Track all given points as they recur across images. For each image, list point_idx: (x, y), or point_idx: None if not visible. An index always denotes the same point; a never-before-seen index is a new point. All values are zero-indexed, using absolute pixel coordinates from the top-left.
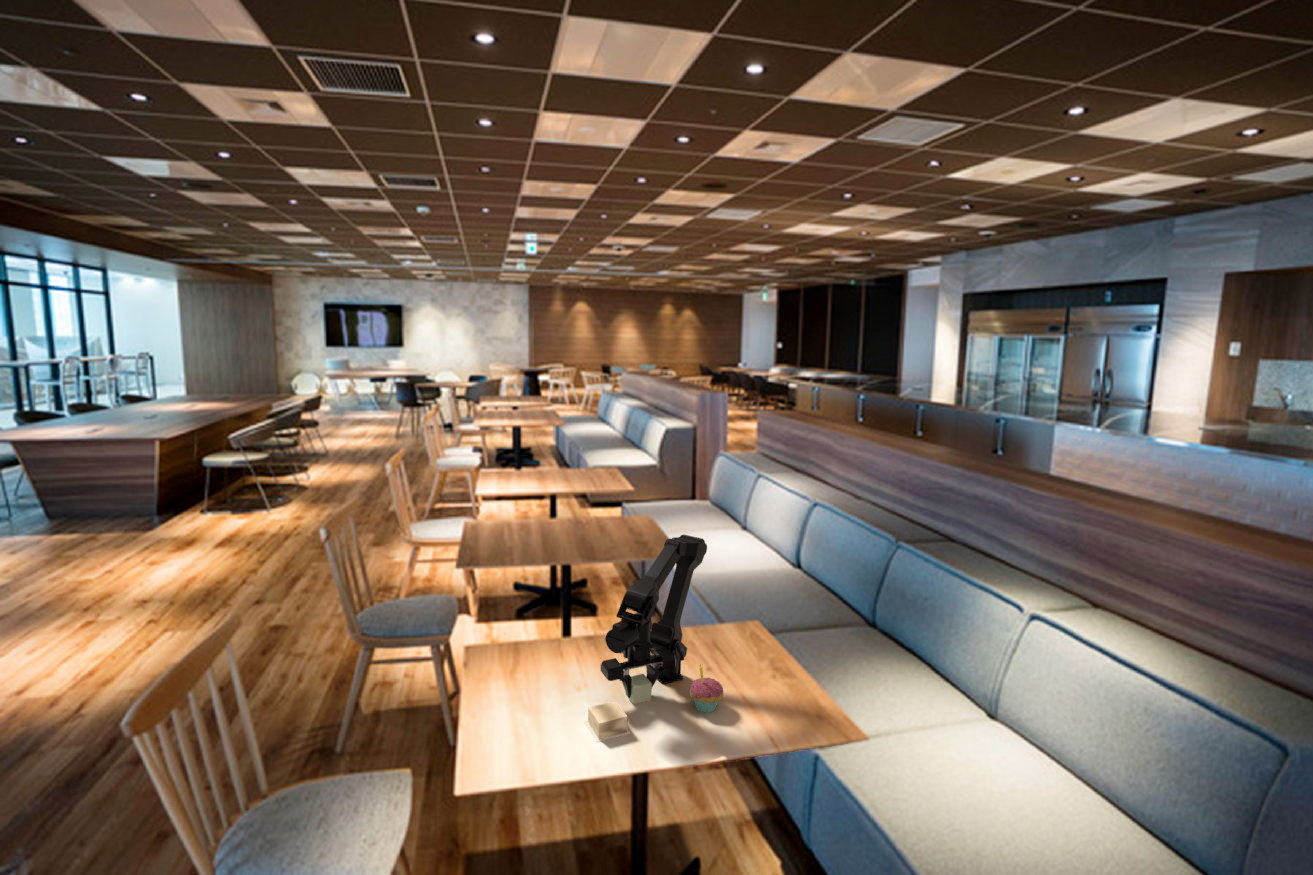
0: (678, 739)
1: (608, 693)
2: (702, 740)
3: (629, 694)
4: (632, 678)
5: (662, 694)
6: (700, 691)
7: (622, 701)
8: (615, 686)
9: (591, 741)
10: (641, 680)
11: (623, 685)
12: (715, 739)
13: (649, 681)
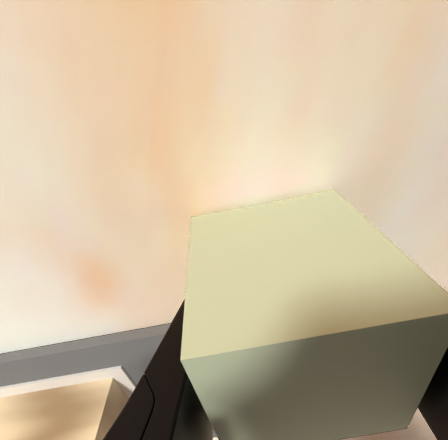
0: None
1: (53, 148)
2: (364, 436)
3: None
4: (267, 378)
5: (430, 234)
6: None
7: (164, 261)
8: (118, 27)
9: None
10: (345, 402)
11: (152, 360)
12: (397, 435)
13: (405, 414)
